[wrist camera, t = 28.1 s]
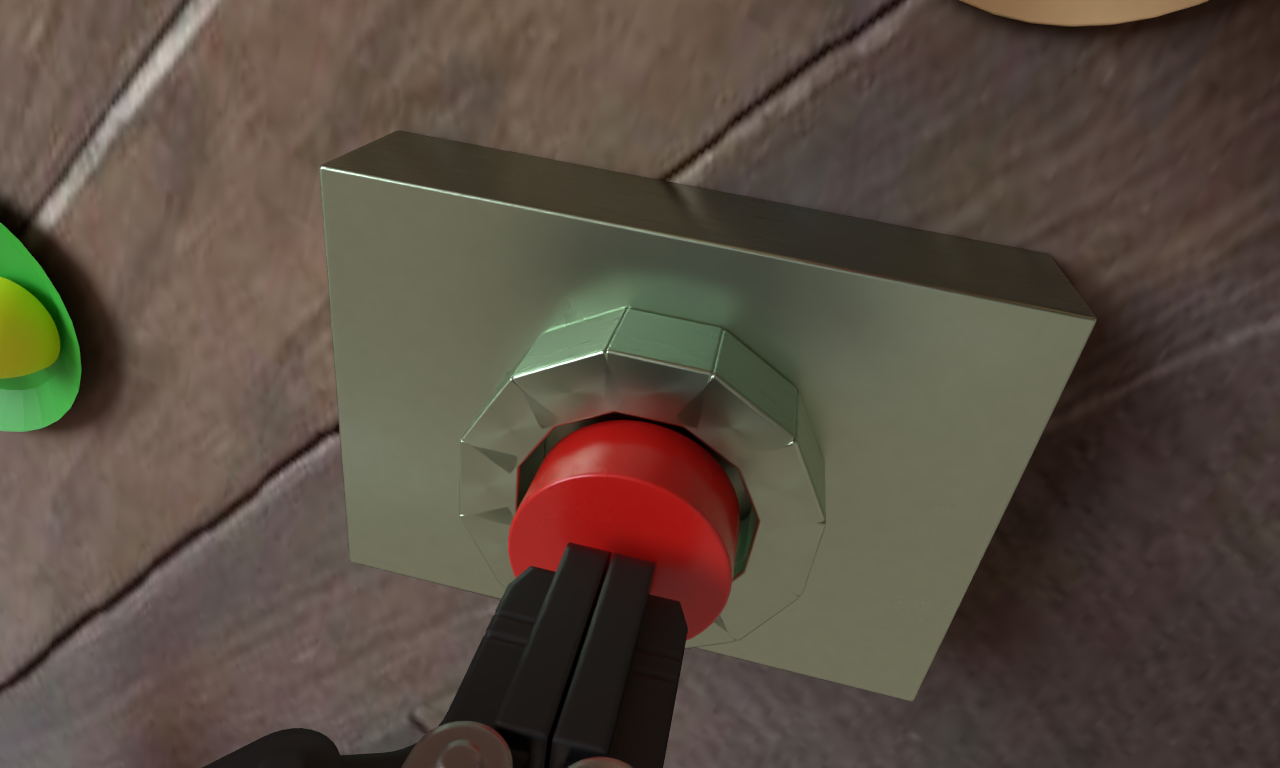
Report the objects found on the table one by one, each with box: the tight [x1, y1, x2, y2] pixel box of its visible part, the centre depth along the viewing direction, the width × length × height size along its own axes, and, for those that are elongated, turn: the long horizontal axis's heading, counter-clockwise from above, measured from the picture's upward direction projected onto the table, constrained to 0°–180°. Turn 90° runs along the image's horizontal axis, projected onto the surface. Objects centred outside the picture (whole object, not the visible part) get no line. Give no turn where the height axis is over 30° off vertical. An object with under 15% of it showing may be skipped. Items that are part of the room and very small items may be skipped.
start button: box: [508, 420, 740, 641], centre depth 14 cm, size 4×4×2 cm
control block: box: [320, 131, 1096, 701], centre depth 17 cm, size 14×10×5 cm
